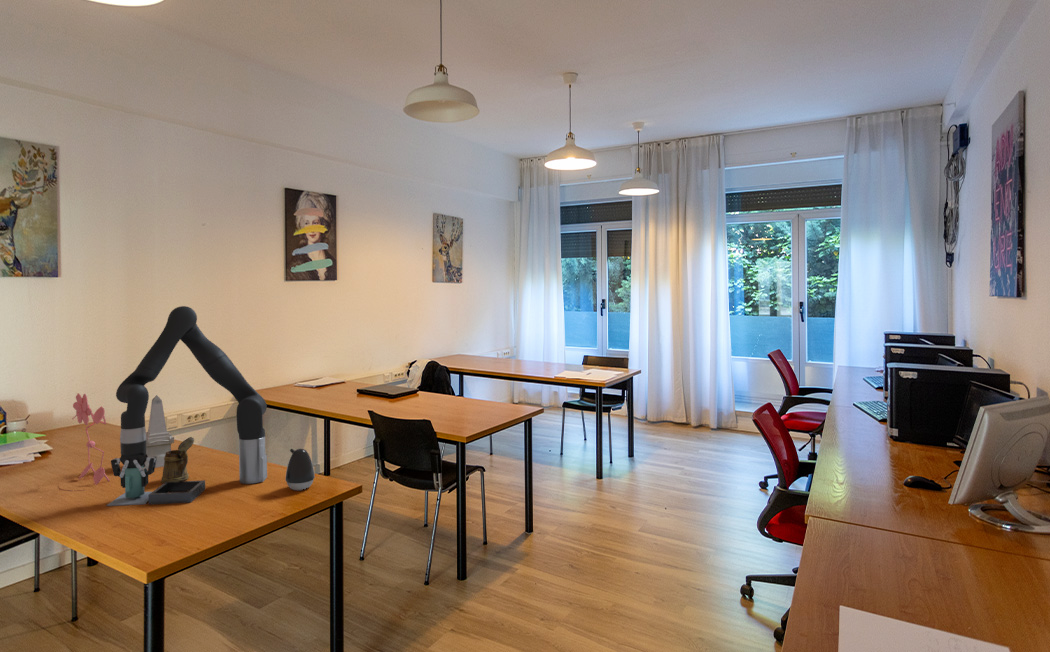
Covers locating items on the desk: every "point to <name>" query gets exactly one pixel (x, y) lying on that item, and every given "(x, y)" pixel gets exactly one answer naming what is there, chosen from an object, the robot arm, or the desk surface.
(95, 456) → the desk surface
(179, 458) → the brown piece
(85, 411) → the figurine
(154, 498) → the dark grey rectangular frame
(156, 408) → the miniature monument
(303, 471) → the grey egg-shaped device
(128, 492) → the glazed jug
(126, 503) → the slate grey mat
